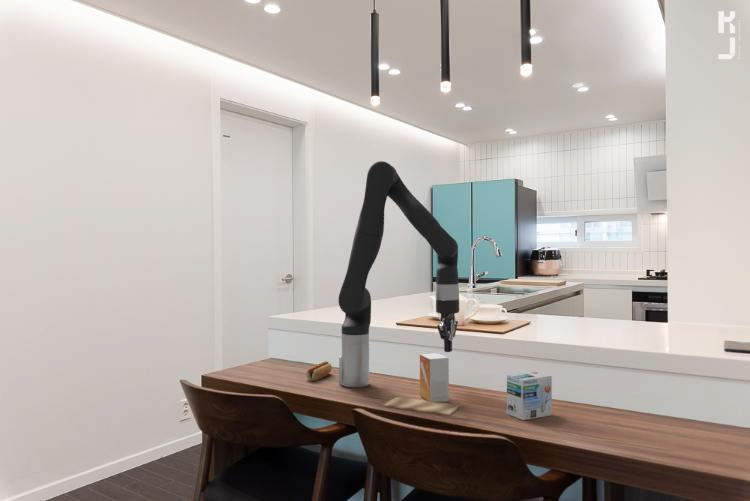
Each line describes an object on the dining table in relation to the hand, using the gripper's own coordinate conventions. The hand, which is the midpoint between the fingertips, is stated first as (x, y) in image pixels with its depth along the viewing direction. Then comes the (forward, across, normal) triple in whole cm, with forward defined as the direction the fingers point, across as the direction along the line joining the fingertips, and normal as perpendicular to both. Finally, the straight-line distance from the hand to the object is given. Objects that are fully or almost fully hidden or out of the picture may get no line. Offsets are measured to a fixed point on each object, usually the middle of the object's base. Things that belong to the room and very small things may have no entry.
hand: (448, 351), depth 172 cm
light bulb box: (+13, +15, +29) cm, 35 cm away
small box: (+12, +12, 0) cm, 17 cm away
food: (+12, +5, -47) cm, 49 cm away
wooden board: (+12, +22, 0) cm, 25 cm away
